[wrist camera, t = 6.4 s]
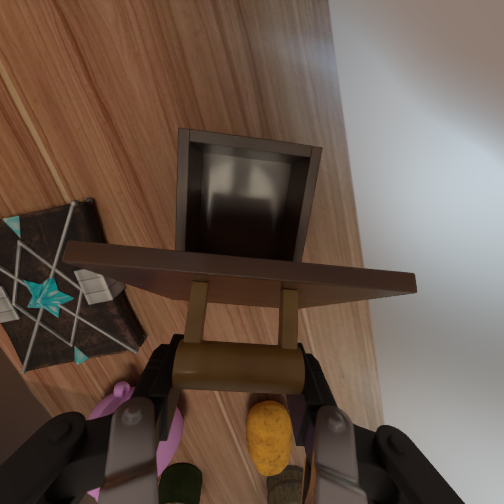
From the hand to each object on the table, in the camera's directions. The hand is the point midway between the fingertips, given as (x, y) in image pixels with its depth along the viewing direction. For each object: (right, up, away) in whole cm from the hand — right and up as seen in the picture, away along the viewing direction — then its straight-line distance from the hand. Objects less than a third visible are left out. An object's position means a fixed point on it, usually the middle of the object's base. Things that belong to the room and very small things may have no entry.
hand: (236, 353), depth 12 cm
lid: (0, +3, +5) cm, 5 cm away
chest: (0, +10, +20) cm, 22 cm away
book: (-26, +1, +21) cm, 33 cm away
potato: (+4, -24, +30) cm, 39 cm away
